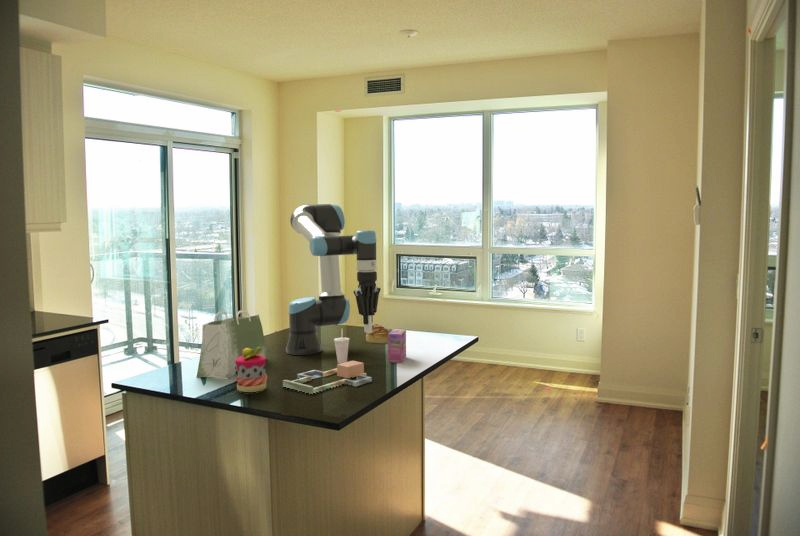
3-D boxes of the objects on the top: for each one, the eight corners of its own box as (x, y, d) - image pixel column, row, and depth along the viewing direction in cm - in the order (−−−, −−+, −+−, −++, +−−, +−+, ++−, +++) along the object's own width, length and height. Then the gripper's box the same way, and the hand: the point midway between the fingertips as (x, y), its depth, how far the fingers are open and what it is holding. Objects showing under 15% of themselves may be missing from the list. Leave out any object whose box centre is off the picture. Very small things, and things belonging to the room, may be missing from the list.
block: (337, 376, 228) (336, 364, 228) (353, 372, 234) (352, 360, 233) (347, 379, 224) (347, 367, 224) (363, 374, 230) (363, 362, 229)
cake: (229, 391, 209) (227, 348, 208) (247, 383, 219) (246, 342, 218) (255, 394, 205) (254, 350, 204) (273, 386, 215) (271, 344, 214)
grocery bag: (238, 357, 260) (236, 303, 258) (268, 359, 256) (266, 304, 254) (195, 377, 229) (192, 316, 227) (228, 379, 225) (225, 317, 223)
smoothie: (337, 365, 244) (336, 330, 243) (331, 361, 250) (331, 327, 249) (352, 363, 247) (351, 328, 246) (346, 359, 253) (345, 326, 252)
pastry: (375, 336, 301) (374, 320, 301) (399, 339, 293) (399, 323, 292) (357, 341, 291) (357, 324, 290) (383, 344, 282) (382, 327, 281)
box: (401, 362, 246) (401, 333, 245) (387, 362, 247) (387, 333, 246) (406, 357, 256) (406, 329, 255) (393, 356, 258) (392, 328, 257)
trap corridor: (329, 369, 238) (329, 363, 237) (377, 379, 222) (376, 372, 221) (273, 384, 217) (273, 378, 217) (321, 397, 201) (321, 390, 201)
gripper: (362, 272, 226) (363, 336, 228) (385, 270, 236) (386, 330, 238) (347, 271, 231) (349, 333, 232) (371, 269, 241) (372, 328, 242)
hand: (368, 332), depth 235 cm, fingers closed
